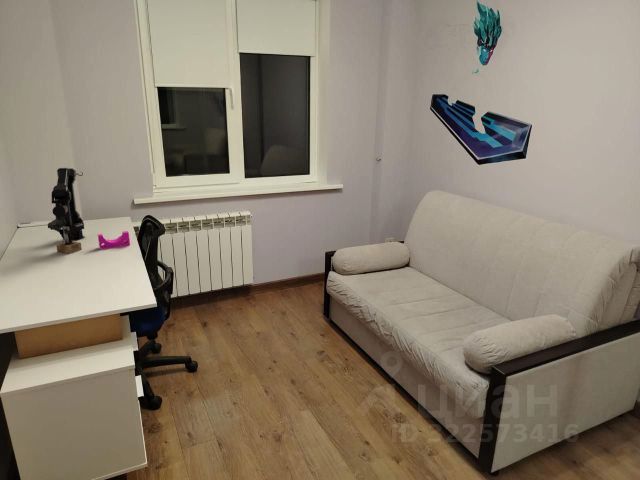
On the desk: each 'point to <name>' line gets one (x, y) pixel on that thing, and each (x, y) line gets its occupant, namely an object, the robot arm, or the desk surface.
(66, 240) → the metal canister
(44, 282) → the desk surface
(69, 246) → the brown square frame
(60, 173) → the robot arm
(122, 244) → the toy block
